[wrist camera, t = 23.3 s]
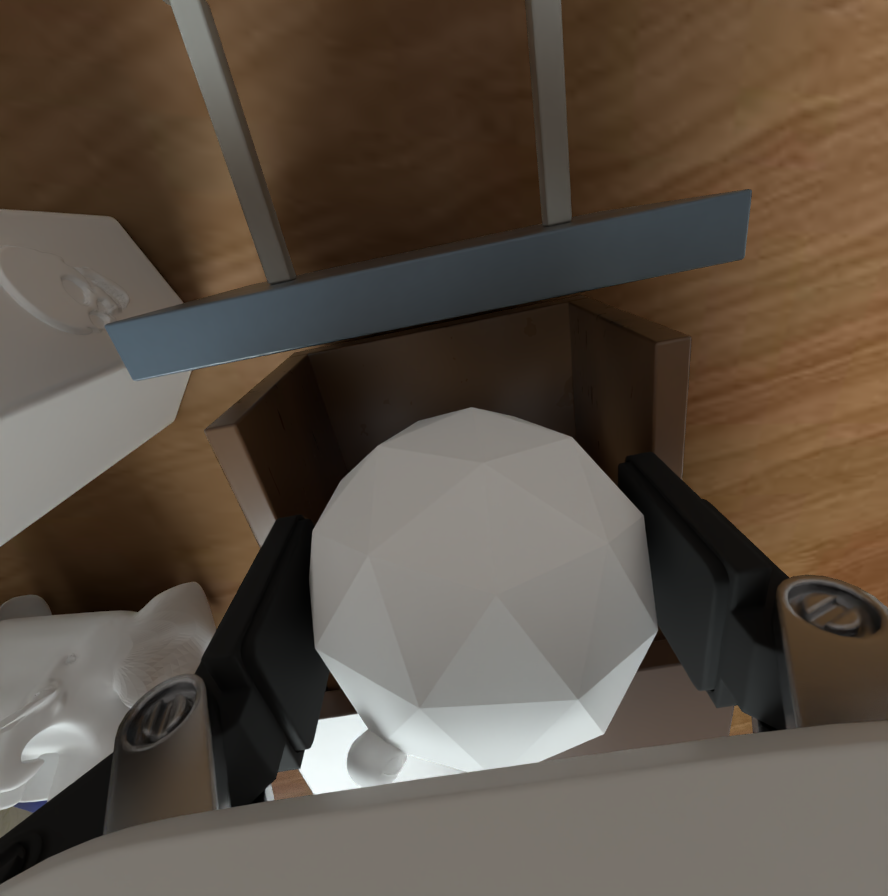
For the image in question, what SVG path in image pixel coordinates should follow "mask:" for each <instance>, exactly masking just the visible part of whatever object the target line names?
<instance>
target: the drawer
mask: <svg viewBox="0 0 888 896" xmlns="http://www.w3.org/2000/svg"><path fill="white" fill-rule="evenodd" d="M163 1H164V2H165V3H166V4H168V5H170V6H171V7H172V10H173V13H174V16H175V18H176V21H177V24H178V27H179V30H180V33H181V36H182V38H183V41H184V44H185V47H186V50H187V53H188V56H189V58H190V61H191V64H192V67H193V70H194V73H195V76H196V78H197V81H198V84H199V87H200V90H201V93H202V96H203V98H204V101H205V104H206V107H207V110H208V113H209V116H210V118H211V121H212V124H213V127H214V130H215V133H216V136H217V138H218V141H219V144H220V147H221V150H222V153H223V156H224V158H225V161H226V164H227V167H228V170H229V173H230V176H231V178H232V181H233V184H234V187H235V190H236V193H237V196H238V198H239V201H240V204H241V207H242V210H243V213H244V216H245V218H246V221H247V224H248V227H249V230H250V233H251V236H252V238H253V241H254V244H255V247H256V250H257V253H258V256H259V258H260V261H261V264H262V267H263V270H264V273H265V276H266V278H267V282H262V283H258V284H253V285H249V286H245V287H242V288H238V289H234V290H230V291H227V292H223V293H219V294H216V295H212V296H208V297H204V298H201V299H197V300H193V301H190V302H186V303H182V304H178V305H175V306H171V307H167V308H163V309H160V310H156V311H152V312H149V313H145V314H141V315H137V316H134V317H130V318H126V319H122V320H119V321H115V322H111V323H108V324H106V325H105V329H106V331H107V333H108V335H109V337H110V338H111V340H112V342H113V344H114V346H115V348H116V350H117V352H118V353H119V355H120V357H121V359H122V361H123V363H124V365H125V367H126V368H127V370H128V372H129V374H130V376H131V378H132V380H133V381H141V380H146V379H151V378H156V377H161V376H166V375H171V374H176V373H181V372H185V371H190V370H195V369H200V368H205V367H210V366H215V365H220V364H225V363H230V362H235V361H240V360H245V359H250V358H255V357H260V356H265V355H270V354H275V353H280V352H285V351H290V350H295V349H300V348H305V347H310V346H315V345H320V344H325V343H330V342H335V341H340V340H345V339H350V338H355V337H360V336H365V335H370V334H375V333H380V332H385V331H390V330H395V329H399V328H404V327H409V326H414V325H419V324H424V323H429V322H434V321H439V320H444V319H449V318H454V317H459V316H464V315H469V314H474V313H479V312H484V311H489V310H494V309H499V308H504V307H509V306H514V305H519V304H524V303H529V302H534V301H539V300H544V299H549V298H554V297H559V296H564V295H569V294H574V293H579V292H584V291H589V290H594V289H599V288H604V287H609V286H614V285H618V284H623V283H628V282H633V281H638V280H643V279H648V278H653V277H658V276H663V275H668V274H673V273H678V272H683V271H688V270H693V269H698V268H703V267H708V266H713V265H718V264H723V263H728V262H733V261H738V260H742V259H743V258H744V257H745V250H746V241H747V232H748V223H749V214H750V205H751V196H752V190H750V189H746V190H739V191H732V192H726V193H719V194H712V195H706V196H699V197H692V198H686V199H679V200H672V201H666V202H659V203H652V204H646V205H639V206H633V207H626V208H619V209H613V210H606V211H599V212H594V213H589V214H585V215H580V216H575V217H572V211H571V191H570V171H569V151H568V131H567V111H566V91H565V71H564V51H563V31H562V11H561V0H525V7H526V20H527V33H528V46H529V59H530V72H531V85H532V97H533V110H534V123H535V136H536V149H537V162H538V175H539V188H540V201H541V213H542V224H537V225H533V226H528V227H523V228H518V229H514V230H509V231H504V232H499V233H495V234H490V235H485V236H480V237H476V238H471V239H466V240H462V241H457V242H452V243H447V244H443V245H438V246H433V247H428V248H424V249H419V250H414V251H409V252H405V253H400V254H395V255H390V256H386V257H381V258H376V259H371V260H367V261H362V262H357V263H353V264H348V265H343V266H338V267H334V268H329V269H324V270H319V271H315V272H310V273H305V274H300V275H296V274H295V271H294V268H293V265H292V262H291V259H290V256H289V252H288V249H287V246H286V243H285V240H284V237H283V234H282V231H281V227H280V224H279V221H278V218H277V215H276V212H275V209H274V206H273V203H272V199H271V196H270V193H269V190H268V187H267V184H266V181H265V178H264V174H263V171H262V168H261V165H260V162H259V159H258V156H257V153H256V149H255V146H254V143H253V140H252V137H251V134H250V131H249V128H248V125H247V121H246V118H245V115H244V112H243V109H242V106H241V103H240V100H239V96H238V93H237V90H236V87H235V84H234V81H233V78H232V75H231V72H230V68H229V65H228V62H227V59H226V56H225V53H224V50H223V47H222V43H221V40H220V37H219V34H218V31H217V28H216V25H215V22H214V18H213V15H212V12H211V9H210V6H209V4H208V3H207V1H206V0H163ZM691 341H692V339H691V336H689V335H686V334H684V333H681V332H678V331H676V330H673V329H670V328H668V327H665V326H663V325H660V324H657V323H655V322H652V321H649V320H647V319H644V318H641V317H639V316H636V315H634V314H631V313H628V312H626V311H623V310H620V309H618V308H615V307H613V306H610V305H607V304H605V303H602V302H599V301H597V300H594V299H592V298H589V297H586V296H584V295H579V296H574V297H569V298H564V299H559V300H554V301H549V302H544V303H539V304H534V305H529V306H524V307H520V308H515V309H510V310H505V311H500V312H495V313H490V314H485V315H480V316H475V317H470V318H465V319H460V320H455V321H450V322H445V323H440V324H435V325H430V326H425V327H420V328H415V329H410V330H405V331H400V332H395V333H390V334H385V335H380V336H375V337H370V338H365V339H360V340H355V341H350V342H345V343H340V344H335V345H330V346H325V347H320V348H315V349H310V350H305V351H300V352H295V353H294V354H292V355H291V356H290V357H289V358H288V359H287V360H285V361H284V362H283V363H282V364H281V365H280V366H278V367H277V368H276V369H275V370H274V371H273V372H271V373H270V374H269V375H268V376H267V377H265V378H264V379H263V380H262V381H261V382H260V383H258V384H257V385H256V386H255V387H254V388H253V389H251V390H250V391H249V392H248V393H247V394H246V395H244V396H243V397H242V398H241V399H240V400H239V401H237V402H236V403H235V404H234V405H233V406H232V407H230V408H229V409H228V410H227V411H226V412H225V413H223V414H222V415H221V416H220V417H219V418H218V419H216V420H215V421H214V422H213V423H212V424H211V425H209V426H208V427H207V428H206V429H205V430H204V432H205V435H206V437H207V439H208V441H209V443H210V445H211V447H212V449H213V451H214V453H215V456H216V458H217V460H218V462H219V464H220V466H221V468H222V470H223V472H224V474H225V476H226V478H227V480H228V482H229V485H230V487H231V489H232V491H233V493H234V495H235V497H236V499H237V501H238V503H239V505H240V507H241V509H242V511H243V514H244V516H245V518H246V520H247V522H248V524H249V526H250V528H251V530H252V532H253V534H254V536H255V538H256V540H257V543H258V545H259V547H260V549H261V547H262V545H263V543H264V541H265V539H266V538H267V536H268V534H269V532H270V530H271V528H272V526H273V525H274V523H275V521H276V520H277V519H278V518H283V517H288V516H294V515H299V514H300V515H302V516H303V517H304V518H305V519H311V521H312V522H313V524H314V527H315V525H316V524H317V522H318V520H319V518H320V517H321V515H322V513H323V511H324V509H325V508H326V506H327V504H328V502H329V501H330V499H331V497H332V495H333V493H334V492H335V490H336V488H337V486H338V484H339V483H340V481H341V480H342V479H343V478H344V477H345V476H346V475H347V474H348V473H349V472H350V471H351V470H352V469H353V468H355V467H356V466H357V465H358V464H359V463H360V462H361V461H362V460H363V459H364V458H365V457H366V456H367V455H368V454H369V453H370V452H372V451H373V450H374V449H375V448H376V447H377V446H378V445H380V444H381V443H383V442H385V441H386V440H388V439H390V438H391V437H393V436H394V435H396V434H398V433H399V432H401V431H403V430H404V429H406V428H407V427H409V426H411V425H412V424H414V423H416V422H417V421H419V420H423V419H427V418H431V417H435V416H439V415H443V414H447V413H451V412H455V411H459V410H463V409H466V408H470V407H473V408H478V409H482V410H487V411H491V412H496V413H501V414H505V415H510V416H514V417H517V418H520V419H523V420H525V421H528V422H531V423H534V424H537V425H540V426H542V427H545V428H548V429H551V430H554V431H556V432H559V433H562V434H565V435H568V436H570V437H573V439H574V440H575V441H576V442H577V443H578V444H579V445H580V446H581V447H582V448H583V450H584V451H585V452H586V453H587V454H588V455H589V456H590V457H591V458H592V459H593V460H594V462H595V463H596V464H597V465H598V466H599V467H600V468H601V469H602V470H603V471H604V472H605V474H606V475H607V476H608V477H609V478H610V479H611V480H612V481H613V482H614V483H615V485H616V486H617V487H618V465H619V464H620V463H624V462H625V458H626V457H627V456H629V455H635V454H640V453H646V452H653V453H655V454H656V455H657V456H658V457H659V458H660V459H661V460H662V461H663V462H664V463H665V464H666V465H667V466H668V467H669V468H670V469H671V470H672V471H673V472H674V473H675V474H676V475H677V476H678V477H679V478H681V479H682V474H683V460H684V445H685V430H686V415H687V400H688V386H689V371H690V356H691ZM657 625H658V624H657ZM665 639H666V637H665V636H664V634H663V632H662V631H661V629H660V627H659V626H658V632H657V634H656V636H655V637H654V639H653V641H658V640H665ZM327 687H328V690H329V691H333V690H339V689H342V688H341V687H340V685H339V684H338V682H337V681H336V679H335V678H334V676H333V675H332V673H331V672H329V677H328V681H327Z"/></svg>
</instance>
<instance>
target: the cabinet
mask: <svg viewBox="0 0 888 896" xmlns="http://www.w3.org/2000/svg"><path fill="white" fill-rule="evenodd" d="M733 710H734V706H729V707H722V708H716V707H715V705H714V703H713V702H712V700H711V698H710V697H709V695H708V693H707V692H706V691H699V690H697V689H696V688H695V686H694V685H693V683H692V682H691V680H690V678H689V677H688V675H687V673H686V671H685V670H684V668H683V666H682V665H681V663H680V661H679V660H678V658H677V656H676V654H675V653H674V651H673V649H672V648H671V646H670V644H669V643H668V641H667V639H665V640H658V641H652V643H651V645H650V647H649V649H648V651H647V653H646V655H645V657H644V659H643V660H642V662H641V664H640V666H639V668H638V670H637V672H636V674H635V676H634V678H633V680H632V682H631V683H630V685H629V687H628V689H627V691H626V693H625V695H624V697H623V699H622V701H621V703H620V705H619V706H618V708H617V710H616V712H615V714H614V716H613V718H612V720H611V722H610V724H609V726H608V728H607V729H606V731H605V733H604V734H603V735H601V736H598V737H596V738H594V739H591V740H589V741H587V742H584V743H582V744H580V745H577V746H575V747H573V748H570V749H568V750H566V751H564V752H561V753H559V754H557V755H554V756H552V757H550V758H547V759H545V760H543V761H540V762H544V761H551V760H558V759H566V758H573V757H580V756H587V755H595V754H602V753H609V752H617V751H624V750H631V749H639V748H646V747H653V746H661V745H668V744H676V743H683V742H690V741H698V740H705V739H712V738H720V737H727V736H729V732H730V727H731V721H732V716H733ZM366 730H368V728H367V726H366V725H365V723H364V722H363V720H362V719H361V717H360V716H359V714H358V713H357V711H356V710H355V708H354V707H353V705H352V704H351V702H350V701H349V699H348V698H347V696H346V694H345V693H344V691H343V690H342V689H339V690H333V691H329V690H328V687H327V685H326V690H325V694H324V698H323V703H322V707H321V712H320V716H319V720H318V725H317V729H316V733H315V738H314V741H313V744H312V746H311V748H310V749H307V750H305V752H304V756H303V760H302V764H301V769H298V770H299V772H300V773H301V775H302V777H303V778H304V780H305V782H306V783H307V785H308V787H309V788H310V790H311V791H312V793H313V795H315V794H322V793H328V792H335V791H342V790H349V789H355V788H362V787H361V786H359V785H358V784H356V783H355V782H354V781H353V780H352V778H351V777H350V776H349V773H348V771H347V756H348V752H349V749H350V747H351V745H352V744H353V742H354V741H355V740H356V739H357V738H358V737H359V736H361V735H362V734H363V733H364V732H365V731H366ZM459 773H466V771H462V770H459V769H456V768H452V767H449V766H445V765H442V764H438V763H435V762H432V761H428V760H425V759H421V758H418V757H414V756H411V755H407V759H406V762H405V764H404V766H403V767H402V768H401V770H400V772H399V774H398V776H397V778H396V779H395V781H394V782H393V783H396V782H403V781H410V780H417V779H424V778H431V777H438V776H445V775H452V774H459Z"/></svg>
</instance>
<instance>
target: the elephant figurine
mask: <svg viewBox="0 0 888 896" xmlns="http://www.w3.org/2000/svg"><path fill="white" fill-rule="evenodd" d="M215 632H216V627H215V623H214V619H213V616H212V612H211V609H210V606H209V603H208V600H207V598H206V595H205V593H204V591H203V589H202V587H201V586H200V585H199V584H198V583H196V582H189V583H184V584H180V585H177V586H175V587H172V588H170V589H168V590H166V591H164V592H162V593H160V594H159V595H157V596H155V597H154V598H153V599H152V600H151V601H150V602H149V603H148V604H147V605H146V606H145V607H144V608H142V609H141V610H140V611H139V612H134V611H122V610H119V611H101V612H88V613H75V614H62V615H52V613H51V610H50V608H49V606H48V604H47V603H46V602H45V600H44V599H43V598H41V597H39V596H37V595H25V596H19V597H14V598H12V599H9V600H8V601H6V602H5V603H4V604H2V605H1V606H0V810H3V809H7V808H10V807H12V806H14V805H16V804H17V803H18V802H36V801H43V800H47V802H48V801H50V800H51V799H52V798H53V797H55V796H56V795H57V794H59V793H60V792H61V791H63V790H64V789H65V788H67V787H68V786H69V785H71V784H72V783H73V782H74V781H76V780H77V779H78V778H80V777H81V776H82V775H84V774H85V773H86V772H88V771H89V770H90V769H92V768H93V767H94V766H95V765H97V764H98V763H99V762H101V761H102V760H103V759H105V758H106V757H107V756H109V755H110V754H111V753H113V750H114V742H115V737H116V733H117V730H118V727H119V725H120V723H121V721H122V720H123V718H124V716H125V715H126V713H127V712H128V711H129V710H130V708H131V707H132V706H133V705H134V704H135V703H136V701H137V700H138V699H140V698H141V697H142V696H143V695H144V694H145V693H147V692H148V691H149V690H150V689H152V688H153V687H155V686H156V685H158V684H160V683H161V682H163V681H165V680H167V679H169V678H172V677H174V676H177V675H182V674H195V672H196V670H197V668H198V666H199V664H200V662H201V658H202V656H203V654H204V652H205V650H206V648H207V647H208V645H209V643H210V641H211V639H212V637H213V635H214V634H215Z"/></svg>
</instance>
